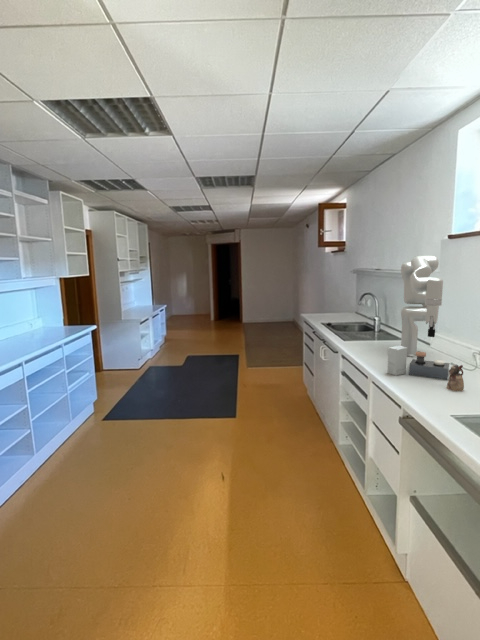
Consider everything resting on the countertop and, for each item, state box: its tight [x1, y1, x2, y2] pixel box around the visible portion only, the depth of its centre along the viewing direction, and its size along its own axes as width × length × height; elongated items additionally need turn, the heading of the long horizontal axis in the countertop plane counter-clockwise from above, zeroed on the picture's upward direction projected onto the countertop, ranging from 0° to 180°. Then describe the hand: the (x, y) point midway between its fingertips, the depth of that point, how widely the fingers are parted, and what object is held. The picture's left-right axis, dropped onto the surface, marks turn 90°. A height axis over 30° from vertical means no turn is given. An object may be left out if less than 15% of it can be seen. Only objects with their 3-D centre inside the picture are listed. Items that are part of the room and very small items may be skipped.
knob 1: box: [415, 350, 427, 364], centre depth 196 cm, size 5×5×8 cm
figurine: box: [446, 363, 465, 392], centre depth 172 cm, size 7×7×12 cm
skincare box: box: [387, 345, 408, 377], centre depth 197 cm, size 8×6×15 cm
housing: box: [408, 358, 450, 381], centre depth 194 cm, size 12×18×6 cm, turn 57°
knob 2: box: [433, 359, 446, 367], centre depth 192 cm, size 5×5×8 cm
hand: (431, 336), depth 192 cm, fingers closed
